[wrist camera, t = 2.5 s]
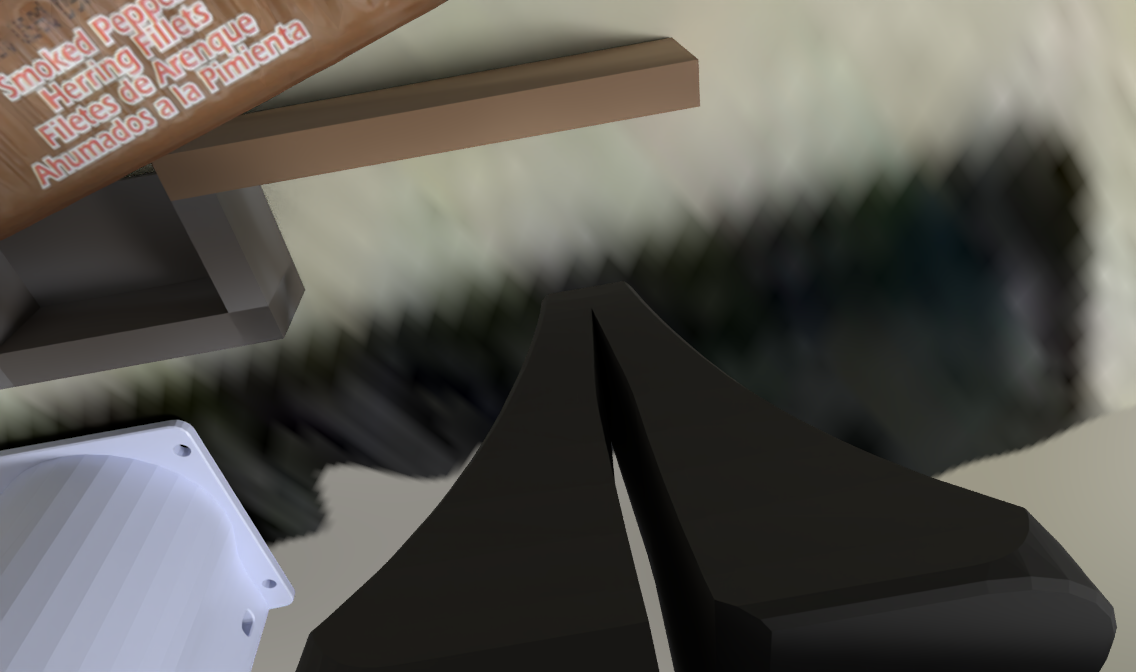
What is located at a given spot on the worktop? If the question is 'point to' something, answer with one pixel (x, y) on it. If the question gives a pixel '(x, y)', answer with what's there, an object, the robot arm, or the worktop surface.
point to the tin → (150, 81)
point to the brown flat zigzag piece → (245, 221)
